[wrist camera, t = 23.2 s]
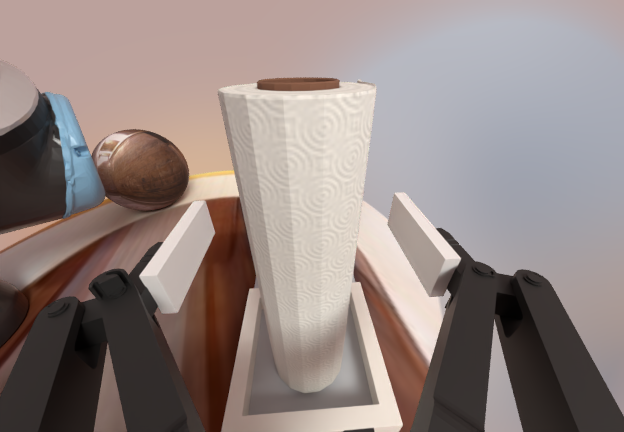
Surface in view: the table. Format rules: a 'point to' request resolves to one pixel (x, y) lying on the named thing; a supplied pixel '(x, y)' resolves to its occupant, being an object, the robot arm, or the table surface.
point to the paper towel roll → (302, 210)
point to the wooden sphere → (140, 169)
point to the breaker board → (317, 405)
